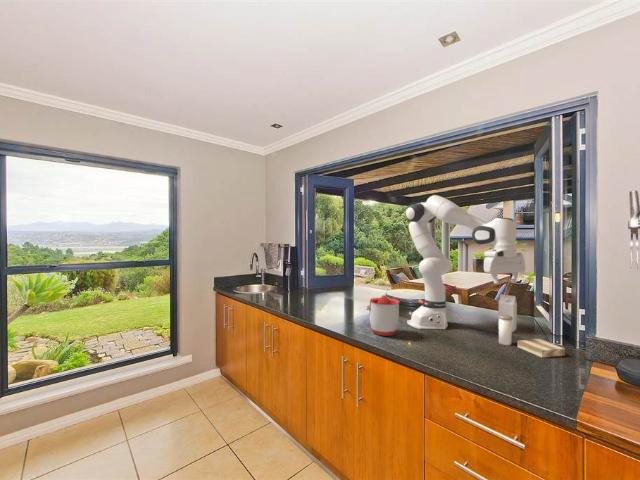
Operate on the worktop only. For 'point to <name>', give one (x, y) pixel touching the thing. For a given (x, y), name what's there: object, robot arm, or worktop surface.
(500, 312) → the milk carton
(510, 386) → the worktop surface
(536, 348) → the base slab
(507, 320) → the canister
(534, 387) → the worktop surface
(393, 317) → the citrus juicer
